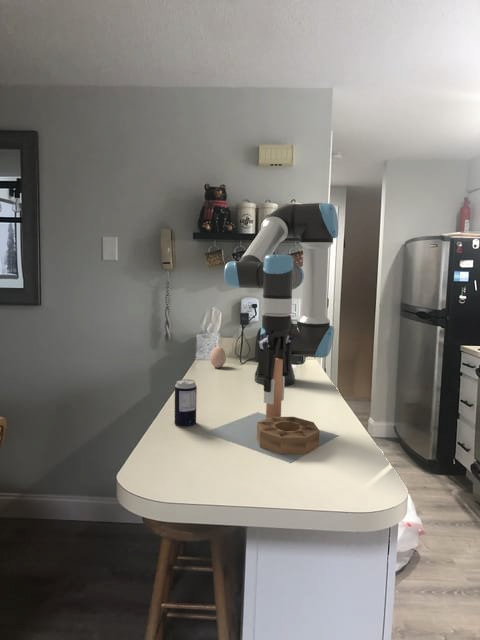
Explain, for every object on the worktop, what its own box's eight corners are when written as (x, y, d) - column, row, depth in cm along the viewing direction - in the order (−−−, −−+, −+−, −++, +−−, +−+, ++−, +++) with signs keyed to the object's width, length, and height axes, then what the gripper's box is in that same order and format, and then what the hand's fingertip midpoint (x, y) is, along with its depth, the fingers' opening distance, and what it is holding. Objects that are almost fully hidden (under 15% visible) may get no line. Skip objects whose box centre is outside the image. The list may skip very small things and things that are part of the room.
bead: (279, 427, 117) (280, 412, 117) (327, 442, 108) (328, 426, 108) (246, 442, 106) (246, 426, 106) (295, 460, 97) (296, 442, 97)
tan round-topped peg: (271, 414, 123) (273, 357, 121) (283, 417, 120) (285, 359, 118) (262, 417, 120) (264, 359, 118) (275, 421, 117) (277, 361, 115)
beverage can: (199, 423, 120) (200, 380, 119) (190, 430, 115) (191, 385, 113) (180, 421, 122) (180, 378, 121) (170, 427, 117) (171, 382, 115)
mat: (257, 414, 129) (257, 412, 129) (338, 437, 113) (339, 435, 113) (204, 434, 113) (204, 432, 112) (290, 465, 96) (290, 463, 96)
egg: (227, 366, 190) (228, 345, 189) (223, 369, 184) (223, 348, 183) (212, 365, 192) (213, 344, 191) (207, 368, 185) (208, 347, 184)
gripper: (283, 310, 125) (280, 391, 128) (244, 315, 112) (242, 405, 115) (306, 313, 120) (302, 397, 123) (269, 318, 107) (266, 412, 110)
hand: (273, 401), depth 119 cm, fingers closed on tan round-topped peg, 4 cm apart
